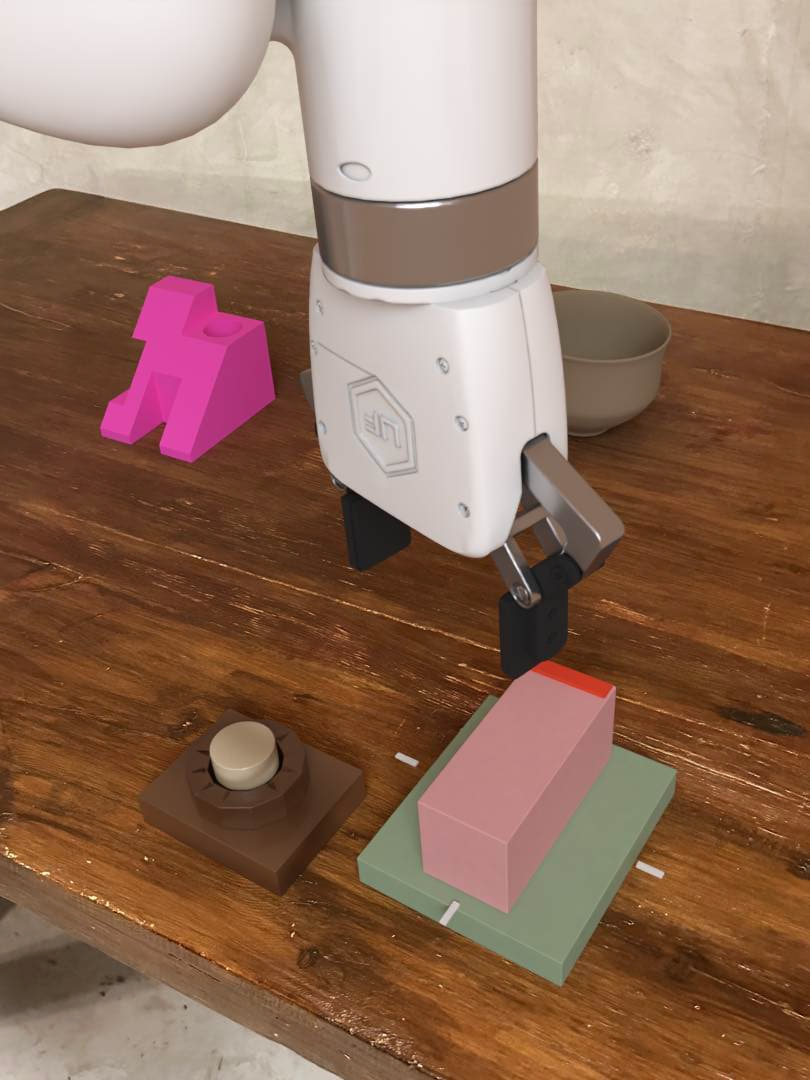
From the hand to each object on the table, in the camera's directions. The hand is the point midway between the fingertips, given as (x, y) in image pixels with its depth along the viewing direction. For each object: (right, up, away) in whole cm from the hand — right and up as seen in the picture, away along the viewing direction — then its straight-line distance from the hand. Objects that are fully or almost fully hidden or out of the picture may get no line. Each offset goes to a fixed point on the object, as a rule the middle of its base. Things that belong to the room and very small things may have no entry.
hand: (453, 604), depth 48 cm
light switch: (-11, -13, +16) cm, 23 cm away
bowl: (+13, +12, +48) cm, 51 cm away
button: (-11, -10, +14) cm, 20 cm away
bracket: (-21, +14, +53) cm, 59 cm away
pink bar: (+4, -12, +12) cm, 18 cm away
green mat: (+4, -14, +14) cm, 20 cm away
